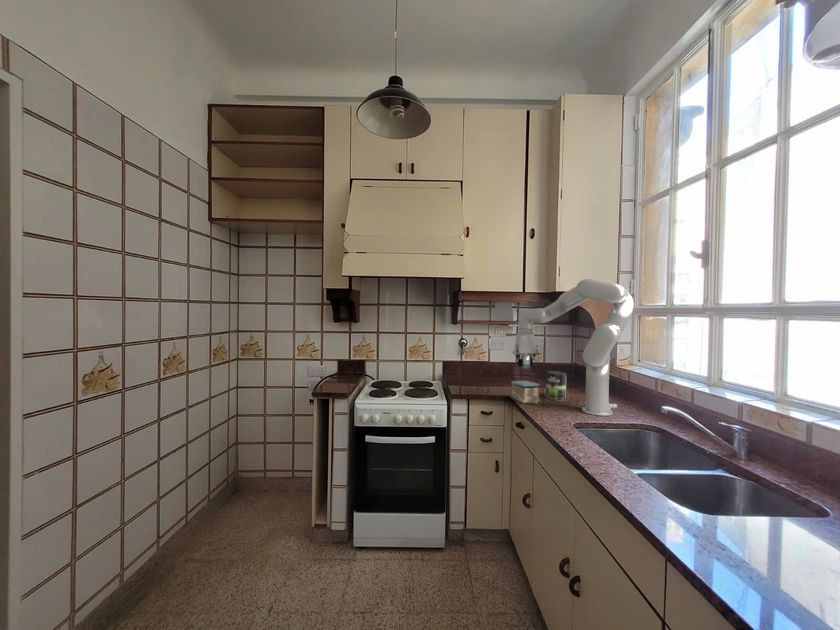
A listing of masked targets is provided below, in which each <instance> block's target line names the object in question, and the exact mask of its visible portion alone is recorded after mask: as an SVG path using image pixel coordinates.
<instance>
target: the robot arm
mask: <svg viewBox="0 0 840 630" xmlns="http://www.w3.org/2000/svg"><path fill="white" fill-rule="evenodd" d="M590 300H595V301H601V302H605V303H609V304H611V305H612V307H611V309H610V310H609V312H608V314H607V316H606V318H605V319H604V322H603V323H602V324H601V325H599V326H597V327H596V328H595V330H594V332H593V333H592V335H591V337H590V339H589V340H588V342H587V344H586V347H584V350H583V352H582V360H583V362H584V363H585V365H586V369H585V370H586V372H585V406H582V408H581V411H582V412H583V413H586V414H589V415H591V416H600V417H609V416H612V415H613V411H612V409H617V408H618V405H617V403H610V402H609V401H610V400H609V398H610V397H609V395H610V394H609V392H610V391H609V390H610V386H609V385H610V364H611V352H612V350H613V348H614V347H615V344H616V343H618V341H619V340H620V338H621V336H622V334H623V332H624V330H625V329H626V326H627V325H628V323H629V321H630V319H631V316H632V315H633V312H634V308H635V304H634V299H633V296H632V295H631V293H630V292H629V291H628V290H627V288H625V287H624V286H622V285H620V284H618V283H612V282H607V281H600V280H595V279H590V278H585V279H581V280H580V281H579V282H578V283H577V284H576V285H575V286H574V287H573V288H571V289H569V290H567V291H565V292H564V293H561V295H560V296H559V297H558V298H557V299H556V300H555V301H554V302H552V303H551V304H549V305H547V306H545V307H544V308H543V307H537V308H520V309H519V310H518V327H517V328H518V330H517V331H518V333H517V334H516V336H515V342H514V343H515V344H514V349H513V350H512V351H511V353H512V354H513V355H514V356H515V358H516V359H517V366H518V367H519V368H520V367H522V363H523V360H522V355H523V354H529V355H530V368H531V367H532V368H533V362H534V361H533V360H534V358H535V357H536V356H537V355H538V354H539V351H538V349H537V346H536V345H537V344H536V335H535V334H534V333H536V330H535V329H534V323H537V324H541V323H543V324H544V323H548V322H550V321H552V320H554V319H556V318H559V317H560V316H562V315H564V314H565V313H567V312H569V311H570V310H572V309H574V308H576V307H578V306H580V305H582V304H584V303H585V302H587V301H590Z"/></svg>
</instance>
